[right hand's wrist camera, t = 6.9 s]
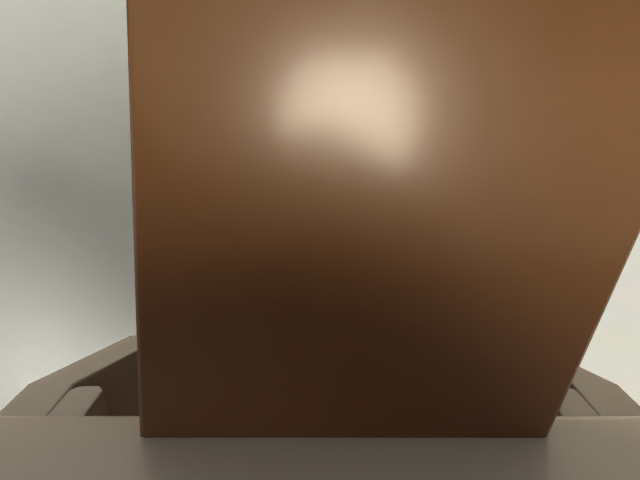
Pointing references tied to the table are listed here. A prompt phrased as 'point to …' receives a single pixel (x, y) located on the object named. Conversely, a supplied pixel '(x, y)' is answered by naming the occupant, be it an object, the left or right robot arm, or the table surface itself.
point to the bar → (376, 211)
